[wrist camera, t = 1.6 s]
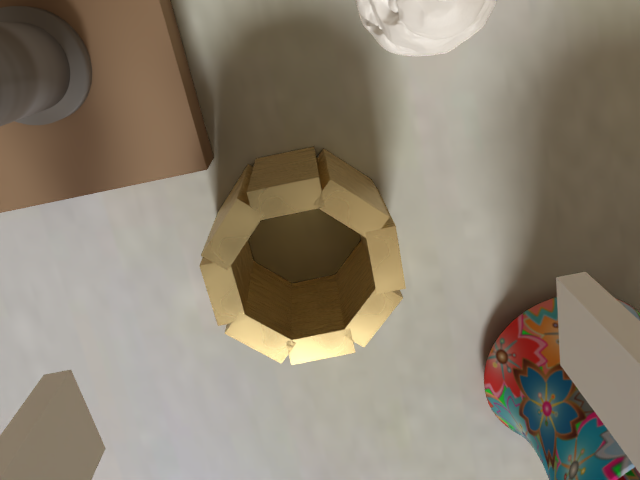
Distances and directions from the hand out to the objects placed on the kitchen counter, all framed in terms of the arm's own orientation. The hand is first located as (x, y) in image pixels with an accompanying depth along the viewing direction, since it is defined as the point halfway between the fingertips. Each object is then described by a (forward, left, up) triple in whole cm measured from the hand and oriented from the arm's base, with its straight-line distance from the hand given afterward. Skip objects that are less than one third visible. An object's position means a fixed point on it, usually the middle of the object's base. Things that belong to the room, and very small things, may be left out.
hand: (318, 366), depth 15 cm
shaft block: (-8, +9, -11) cm, 16 cm away
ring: (0, 0, -11) cm, 11 cm away
